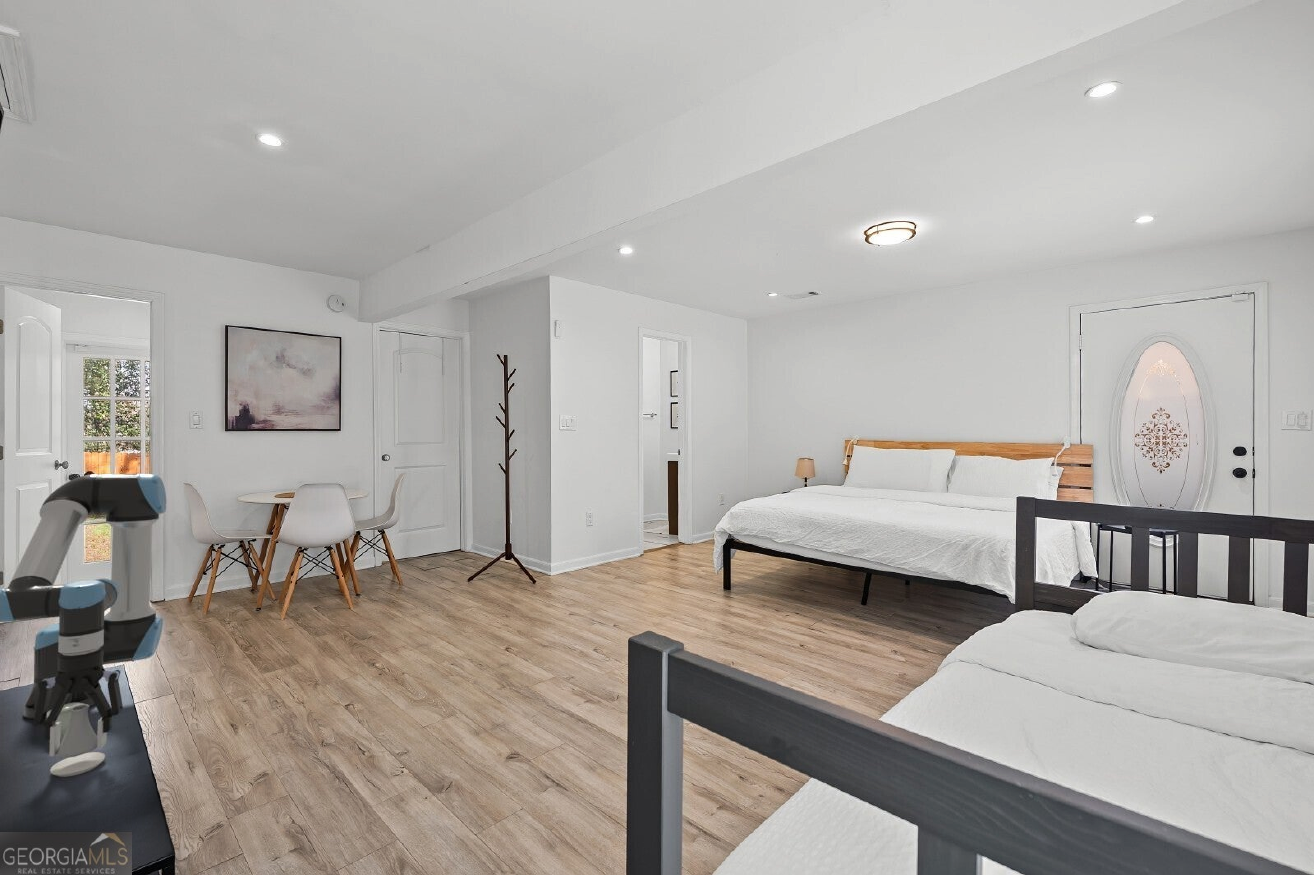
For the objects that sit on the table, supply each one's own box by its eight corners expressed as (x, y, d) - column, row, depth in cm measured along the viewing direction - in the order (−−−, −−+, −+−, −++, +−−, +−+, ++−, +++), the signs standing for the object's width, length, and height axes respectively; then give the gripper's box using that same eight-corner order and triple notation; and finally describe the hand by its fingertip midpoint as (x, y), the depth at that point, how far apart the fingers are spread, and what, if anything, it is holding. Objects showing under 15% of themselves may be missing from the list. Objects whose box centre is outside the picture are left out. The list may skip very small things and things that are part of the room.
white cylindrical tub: (54, 731, 153) (55, 703, 153) (90, 726, 156) (90, 699, 156) (40, 744, 147) (41, 715, 147) (77, 739, 150) (78, 710, 150)
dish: (61, 761, 140) (62, 756, 140) (111, 754, 143) (111, 749, 143) (41, 782, 132) (41, 777, 132) (94, 774, 135) (95, 768, 135)
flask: (72, 761, 133) (73, 716, 133) (47, 756, 135) (48, 712, 135) (108, 744, 140) (109, 702, 140) (84, 741, 142) (85, 698, 142)
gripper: (11, 661, 130) (8, 767, 130) (131, 650, 138) (128, 749, 138) (30, 650, 137) (27, 750, 137) (143, 640, 145) (140, 734, 145)
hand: (78, 749), depth 137 cm, fingers closed on flask, 7 cm apart
